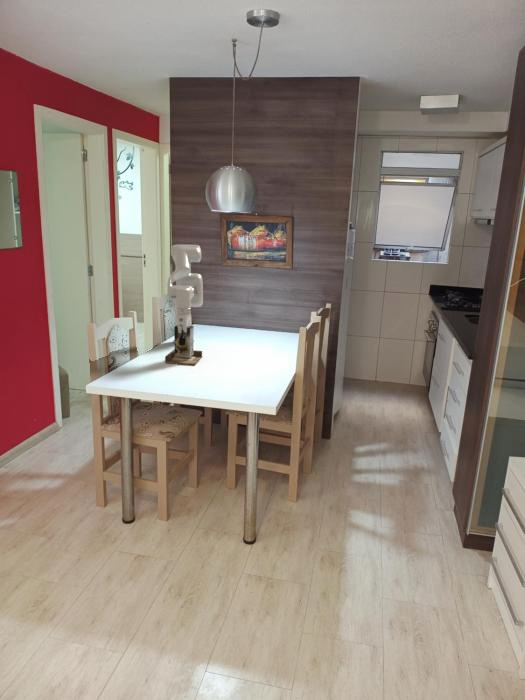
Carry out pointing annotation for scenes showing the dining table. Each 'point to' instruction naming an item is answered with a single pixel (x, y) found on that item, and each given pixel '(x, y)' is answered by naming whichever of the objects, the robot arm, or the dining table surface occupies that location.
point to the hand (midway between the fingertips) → (184, 343)
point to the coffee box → (188, 347)
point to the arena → (183, 358)
